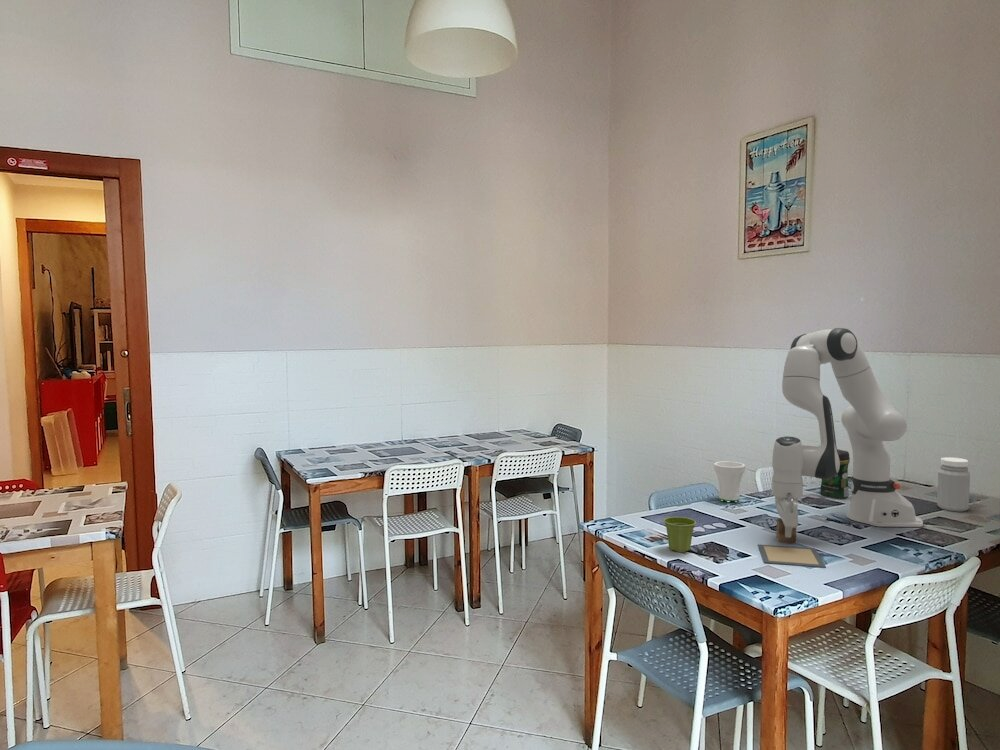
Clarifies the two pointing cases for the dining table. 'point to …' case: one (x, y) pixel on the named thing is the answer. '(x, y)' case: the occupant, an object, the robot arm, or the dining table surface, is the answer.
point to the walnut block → (781, 533)
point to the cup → (729, 479)
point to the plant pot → (679, 533)
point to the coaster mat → (791, 556)
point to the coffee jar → (838, 479)
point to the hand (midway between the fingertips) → (786, 533)
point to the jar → (953, 484)
